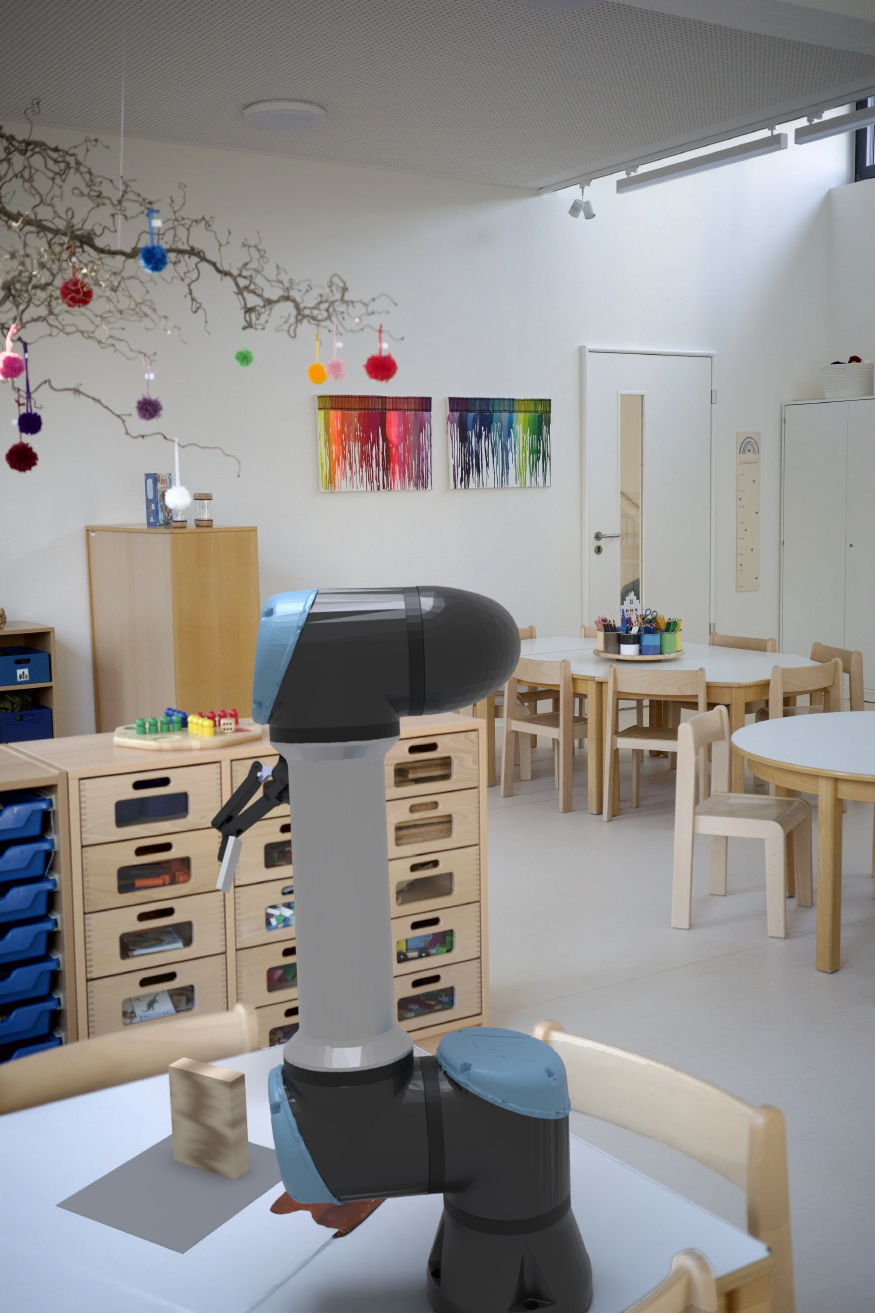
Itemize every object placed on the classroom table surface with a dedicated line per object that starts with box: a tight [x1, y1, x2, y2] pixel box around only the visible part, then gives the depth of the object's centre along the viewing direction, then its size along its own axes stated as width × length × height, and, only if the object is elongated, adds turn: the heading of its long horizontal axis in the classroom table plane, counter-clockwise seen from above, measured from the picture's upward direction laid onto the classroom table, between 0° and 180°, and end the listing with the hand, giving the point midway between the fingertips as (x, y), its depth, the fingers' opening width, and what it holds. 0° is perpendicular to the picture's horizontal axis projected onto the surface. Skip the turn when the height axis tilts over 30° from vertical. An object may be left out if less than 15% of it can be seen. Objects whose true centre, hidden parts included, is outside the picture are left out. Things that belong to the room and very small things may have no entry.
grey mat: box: [55, 1133, 282, 1255], centre depth 129 cm, size 18×20×1 cm
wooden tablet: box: [269, 1190, 385, 1238], centre depth 132 cm, size 27×10×2 cm, turn 153°
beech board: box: [167, 1056, 250, 1180], centre depth 132 cm, size 9×2×11 cm, turn 59°
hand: (273, 900), depth 144 cm, fingers open, 13 cm apart
